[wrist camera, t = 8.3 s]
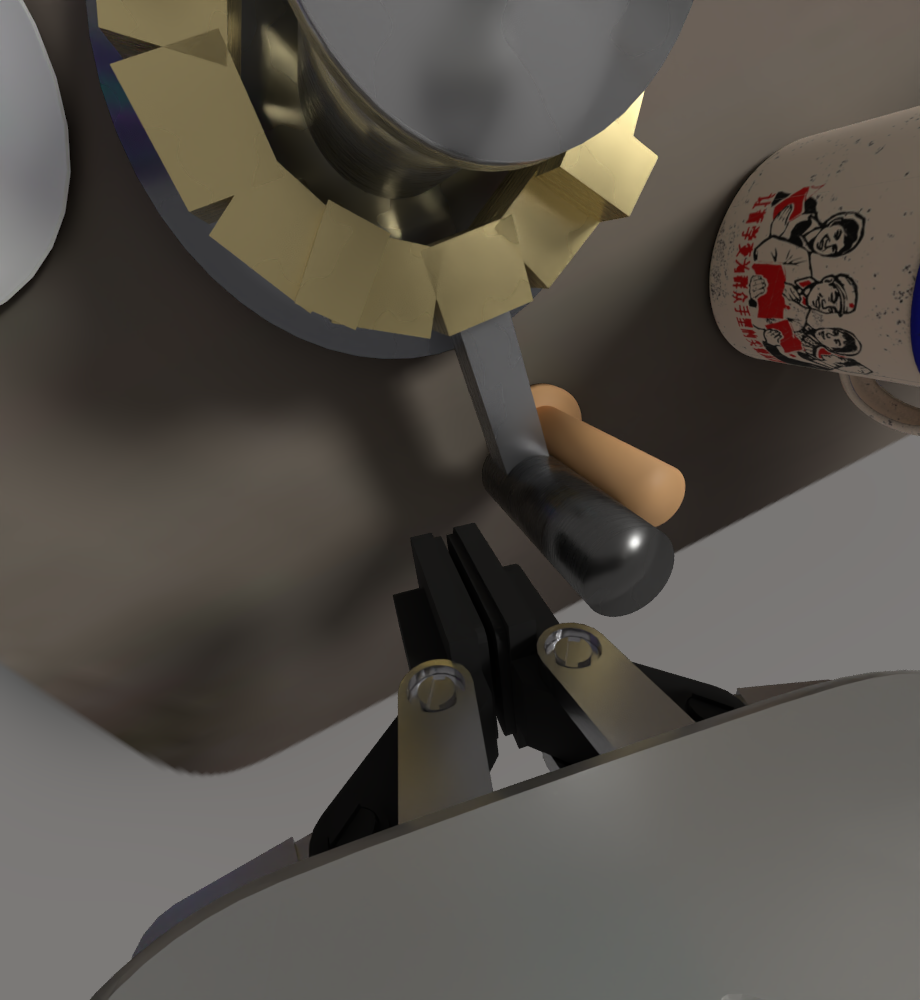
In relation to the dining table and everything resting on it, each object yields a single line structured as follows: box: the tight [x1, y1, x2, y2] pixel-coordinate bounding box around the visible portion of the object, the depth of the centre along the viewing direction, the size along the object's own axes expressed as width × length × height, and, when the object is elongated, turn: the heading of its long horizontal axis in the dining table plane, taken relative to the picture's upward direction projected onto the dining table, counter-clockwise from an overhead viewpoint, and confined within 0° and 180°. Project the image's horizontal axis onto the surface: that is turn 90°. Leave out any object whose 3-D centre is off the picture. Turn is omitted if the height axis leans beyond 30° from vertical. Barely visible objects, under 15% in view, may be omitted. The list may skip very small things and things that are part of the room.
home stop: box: [530, 383, 685, 527], centre depth 18 cm, size 4×4×8 cm
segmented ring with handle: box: [96, 0, 674, 617], centre depth 12 cm, size 19×12×8 cm, turn 21°
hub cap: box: [86, 0, 693, 359], centre depth 11 cm, size 14×14×11 cm
